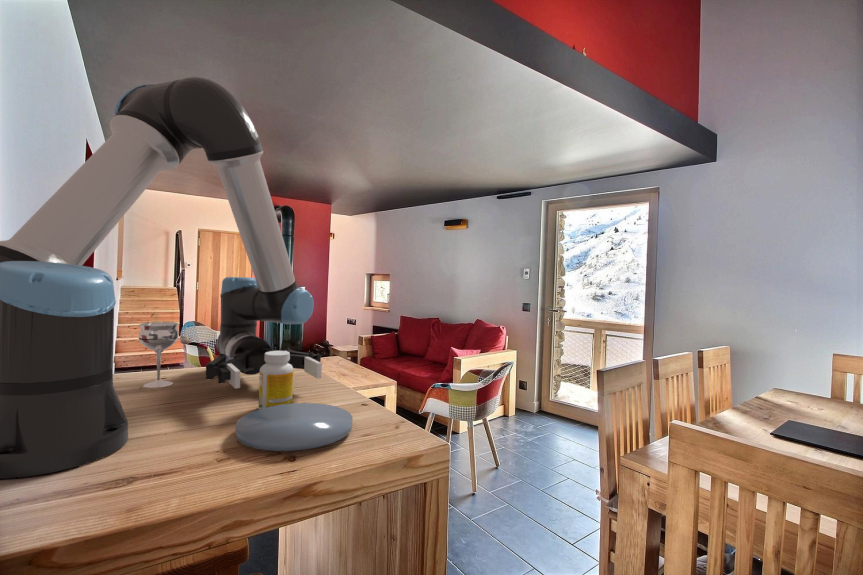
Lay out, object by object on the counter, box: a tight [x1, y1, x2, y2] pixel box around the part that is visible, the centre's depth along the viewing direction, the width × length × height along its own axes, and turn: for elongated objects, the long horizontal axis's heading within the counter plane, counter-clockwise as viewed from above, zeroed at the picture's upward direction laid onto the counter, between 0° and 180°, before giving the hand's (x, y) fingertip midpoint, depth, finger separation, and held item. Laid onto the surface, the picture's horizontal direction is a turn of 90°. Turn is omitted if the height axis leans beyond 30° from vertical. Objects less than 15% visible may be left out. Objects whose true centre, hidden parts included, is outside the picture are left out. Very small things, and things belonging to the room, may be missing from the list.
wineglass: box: [138, 321, 180, 389], centre depth 85 cm, size 7×7×12 cm
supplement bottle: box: [258, 350, 294, 410], centre depth 73 cm, size 5×5×10 cm
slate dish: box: [235, 402, 353, 452], centre depth 62 cm, size 16×16×2 cm
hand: (280, 375), depth 72 cm, fingers open, 13 cm apart
